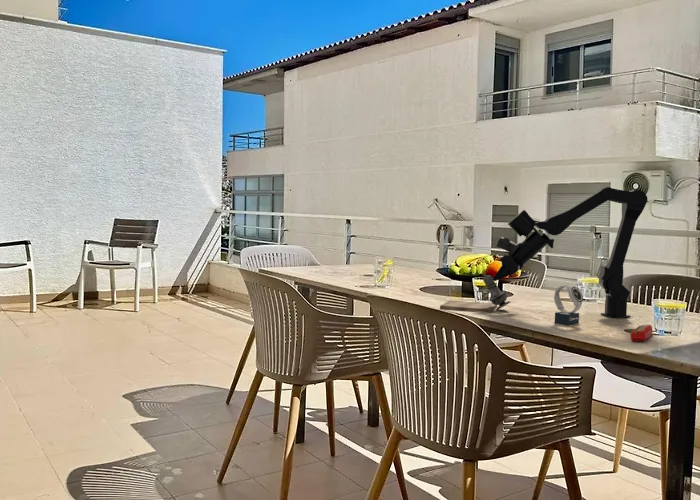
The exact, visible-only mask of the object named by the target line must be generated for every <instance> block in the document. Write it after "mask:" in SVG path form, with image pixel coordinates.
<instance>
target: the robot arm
mask: <svg viewBox="0 0 700 500" xmlns="http://www.w3.org/2000/svg"><path fill="white" fill-rule="evenodd" d="M648 200H649V199H648V196H647V194H646V193H645V192H644V191H643V190H641V189H633V190H623V189H618V188H612V187H610V186H606V187H602V188H600V189H599V191H597V192H595V193H593V194H592V195H590V196H588V197H587V198H585V199H584V200H582V201H580V202H578V203H577V204H575V205H574V206H572V207H570V208H569V209H566V210H564V211H563V212H559V213H557V214H555V215H551V216H550V217H547V218H546V219H545V220H544V221H540V220H537V221H535V220H534V219H533V217H531V216H530V215H529V213H528V212H527V211H526V210H525V209H522V211H520V212H519V213H518V214H517V215H515V216H514V217H513V218H512V219H511V220H510V221H509V222H508V223H507V225H508V226H509V227H510V229H512V230H513V231H514V232H515V233H516V235H518V237H522V236H524V240H523V241H522V242H518V243H516V242H513V241H512V240H511V238H509V237H507V236H505V237H503V236H500V237H499V239H498V241H497V243H496V245H495V247H497V248H498V249H499V248H500V249H502V250H504V251H506V252H507V254H505V255H503V256H502V257H501V258H500V259H499V260H500V262H501V266H500V268H499V269H498V270H497V271H496V273H495V275H494V276H493V277H492V279H493V280H494V282H496V281H499V280H501V279H505V278H507V277H510V276H512V275H515V274H516V273H518V272H519V271H521V270H522V269H524V268H525V266H526V264H527V263H528V262H529V261H531V260H532V259H533V258H535V256H536V255H537V254H538V253H539V252H540V251H542V250H543V249H544V248H545V247H546V246H549V248H551V249H554V243H555V239H554V238H550V237H549V236H548V235H551V236H559V235H561V234H562V233H564V231H566V230H567V229H568V228H569V227H570V226H571V225H572V224H573V223H574V222H575V221H576V220H578V219H580V218H581V217H583V216H585V215H586V214H588V213H589V212H592V211H594V209H596V208H598V207H599V206H601V205H602V204H604V203H607V202H609V201H610V202H614V203H618V204H621V220H620V223H619V227H618V229H617V234H616V235H615V236H616V237H615V239H614V243H613V246H612V250H611V252H610V253H611V254H610V257H609V259H608V262H607V263H606V265H605V266H604V265H600V269H599V274H598V275H597V276H596V278H597V279H598V284H599V286H600V288H602V289H603V290H604V294H605V301H604V302H605V303H604V312H600V315H601V316H605V317H609V318H614V319H615V318H617V319H618V318H621V319H622V318H631V317H632V316H631V315H630V314H627V312H628V311H627V310H628V309H627V308H628V299H629V297H630V293H631V292H630V291H629V290H628V288H626V287H625V285H624V284H623V282H624V263H625V260H626V257H627V253H628V250H629V248H630V242H631V240H632V237H633V233H634V230H635V226H636V223H637V221H638V219H639V218H640V216H641V214H643V211H644V209H645V208H646V205H647V203H648ZM538 229H539V230H542V231H543V230H544V232H543V233H541V232H540V231H538ZM532 231H533V232H532ZM547 234H548V235H547ZM525 237H526V238H525Z"/></svg>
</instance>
